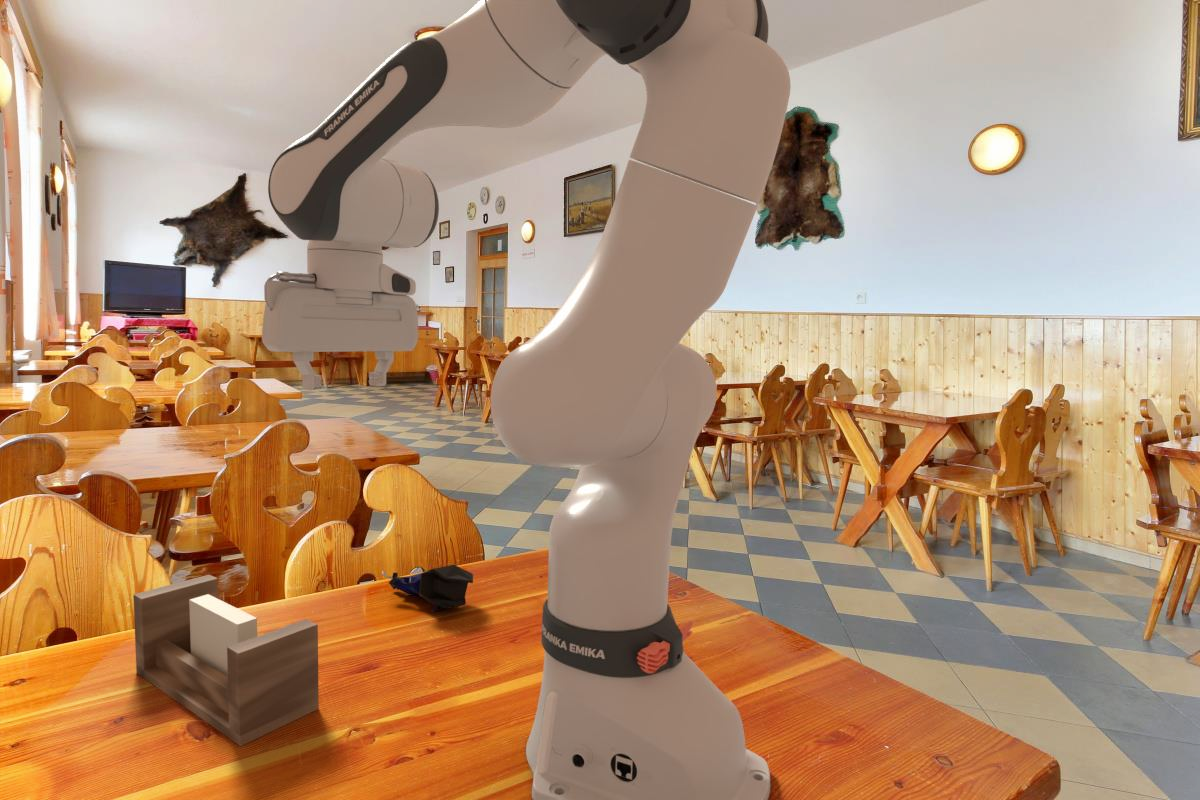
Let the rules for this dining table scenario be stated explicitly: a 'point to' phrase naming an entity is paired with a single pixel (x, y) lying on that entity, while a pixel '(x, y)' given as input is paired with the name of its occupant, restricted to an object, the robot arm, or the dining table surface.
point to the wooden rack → (255, 667)
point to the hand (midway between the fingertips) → (346, 387)
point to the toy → (436, 585)
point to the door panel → (217, 630)
